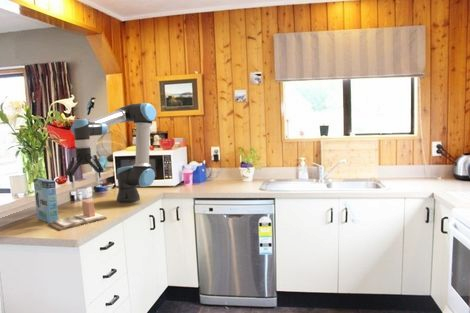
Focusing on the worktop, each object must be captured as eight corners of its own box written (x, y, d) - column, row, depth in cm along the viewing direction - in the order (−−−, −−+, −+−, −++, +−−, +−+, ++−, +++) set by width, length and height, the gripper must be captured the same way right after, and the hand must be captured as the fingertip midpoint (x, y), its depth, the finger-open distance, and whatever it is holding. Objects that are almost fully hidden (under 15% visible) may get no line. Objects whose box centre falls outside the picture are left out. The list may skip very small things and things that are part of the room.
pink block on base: (92, 213, 212) (90, 198, 211) (103, 217, 202) (102, 201, 201) (75, 217, 204) (73, 201, 203) (86, 221, 195) (84, 205, 194)
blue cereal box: (37, 218, 211) (32, 179, 208) (46, 216, 214) (42, 177, 212) (50, 224, 197) (45, 182, 195) (59, 221, 201) (55, 180, 199)
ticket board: (93, 214, 213) (93, 211, 213) (106, 219, 202) (106, 215, 202) (48, 225, 195) (47, 221, 195) (60, 230, 184) (59, 226, 184)
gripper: (101, 145, 210) (104, 181, 213) (56, 149, 192) (60, 188, 195) (107, 145, 205) (110, 183, 207) (62, 149, 187) (65, 190, 189)
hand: (86, 185), depth 201 cm, fingers open, 13 cm apart
